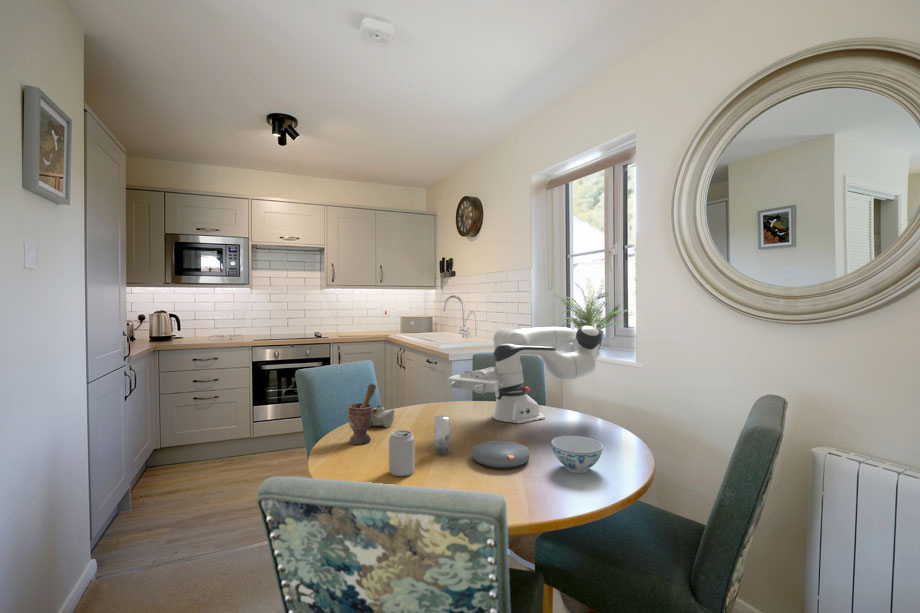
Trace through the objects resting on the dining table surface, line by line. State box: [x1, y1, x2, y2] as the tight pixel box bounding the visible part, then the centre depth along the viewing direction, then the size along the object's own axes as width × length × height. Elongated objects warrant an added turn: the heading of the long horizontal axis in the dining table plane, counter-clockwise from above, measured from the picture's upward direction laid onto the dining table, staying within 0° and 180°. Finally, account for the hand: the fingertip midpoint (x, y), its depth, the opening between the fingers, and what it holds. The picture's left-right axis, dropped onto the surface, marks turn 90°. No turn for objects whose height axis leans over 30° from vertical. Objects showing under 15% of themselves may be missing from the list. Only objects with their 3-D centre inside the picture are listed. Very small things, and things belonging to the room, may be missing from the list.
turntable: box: [472, 440, 530, 468], centre depth 136 cm, size 18×18×3 cm
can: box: [388, 429, 416, 478], centre depth 126 cm, size 8×8×12 cm
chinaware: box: [551, 435, 604, 474], centre depth 129 cm, size 15×15×8 cm
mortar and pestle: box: [347, 383, 377, 445], centre depth 156 cm, size 12×9×20 cm
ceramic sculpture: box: [371, 405, 395, 428], centre depth 174 cm, size 11×9×15 cm
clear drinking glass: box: [434, 414, 451, 457], centre depth 142 cm, size 5×5×12 cm
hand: (462, 387), depth 152 cm, fingers open, 8 cm apart
